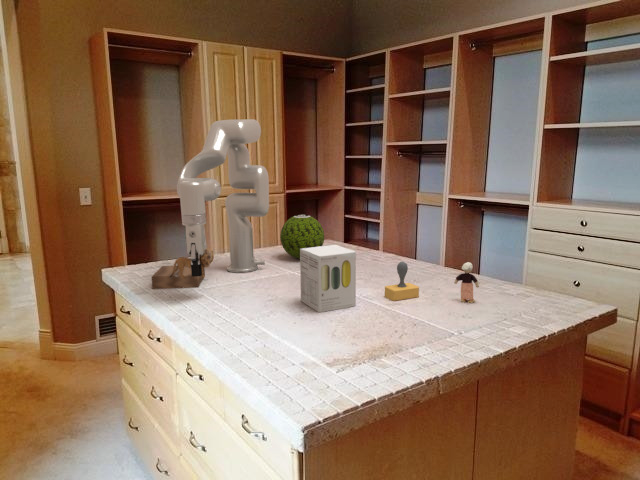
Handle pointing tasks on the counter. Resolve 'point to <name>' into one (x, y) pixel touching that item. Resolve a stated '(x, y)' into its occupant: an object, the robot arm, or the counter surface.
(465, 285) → the grandmother figurine
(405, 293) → the rubber stamp
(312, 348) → the counter surface
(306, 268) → the supplement box
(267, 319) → the counter surface
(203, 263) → the lion figurine
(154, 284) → the walnut block
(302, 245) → the decorative ball
